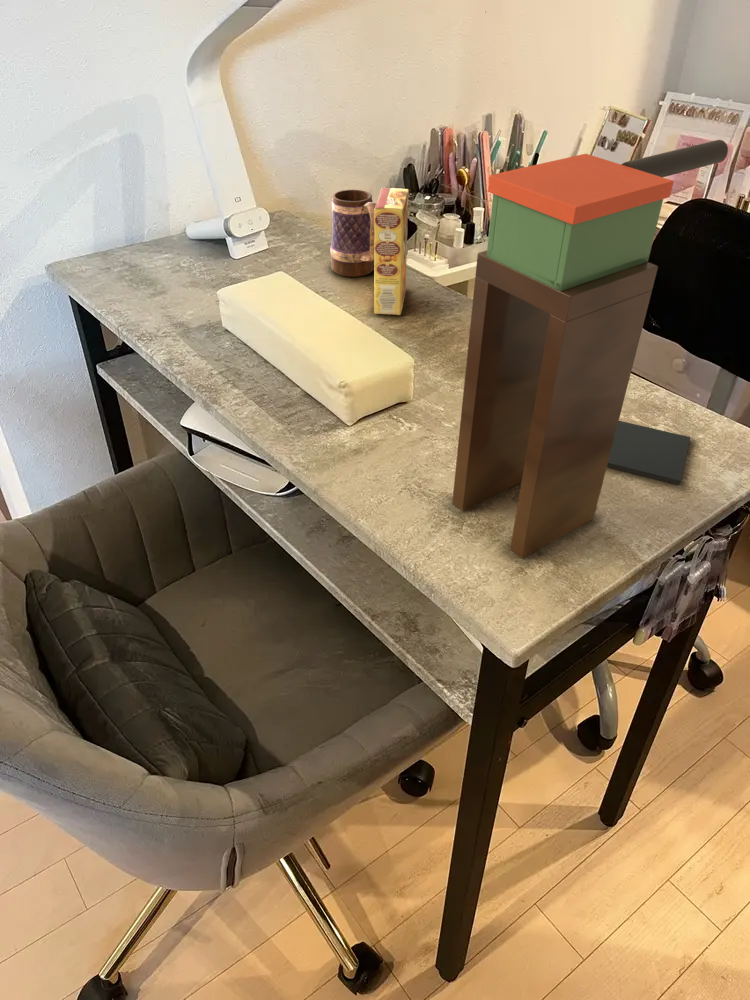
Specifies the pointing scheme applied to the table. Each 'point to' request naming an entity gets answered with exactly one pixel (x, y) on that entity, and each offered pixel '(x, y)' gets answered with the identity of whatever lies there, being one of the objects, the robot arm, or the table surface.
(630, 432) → the mat
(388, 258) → the candy box
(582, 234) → the green open box
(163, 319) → the table surface
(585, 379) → the stand
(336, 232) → the mug
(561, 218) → the red square paddle
